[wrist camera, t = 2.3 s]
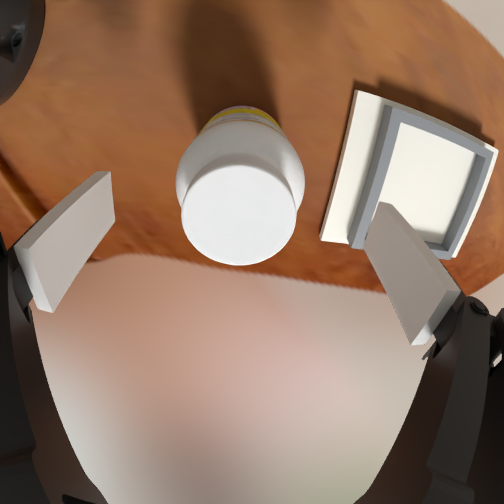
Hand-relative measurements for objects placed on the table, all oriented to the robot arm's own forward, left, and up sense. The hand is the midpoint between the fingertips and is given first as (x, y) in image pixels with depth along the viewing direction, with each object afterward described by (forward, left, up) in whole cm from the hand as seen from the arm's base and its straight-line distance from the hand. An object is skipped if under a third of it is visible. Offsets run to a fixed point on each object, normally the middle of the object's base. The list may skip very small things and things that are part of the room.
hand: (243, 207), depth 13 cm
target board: (+10, +14, -11) cm, 20 cm away
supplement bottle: (0, 0, -11) cm, 11 cm away
